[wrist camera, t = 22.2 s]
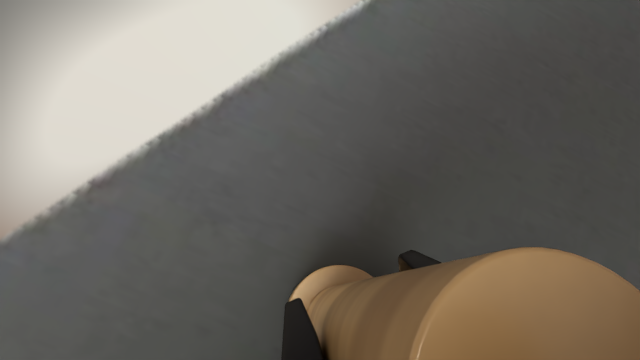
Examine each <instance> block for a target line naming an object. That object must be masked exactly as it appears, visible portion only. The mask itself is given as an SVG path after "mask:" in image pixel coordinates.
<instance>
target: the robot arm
mask: <svg viewBox="0 0 640 360" xmlns="http://www.w3.org/2000/svg"><path fill="white" fill-rule="evenodd" d="M398 262H399V272H402V271H407V270H412V269H417V268H421V267H426V266H431V265H435V264H440V263H441V262H439V261H437V260H434V259H432V258H430V257H428V256H425V255H423V254H421V253H419V252H416V251H414V250H410V251H407V252H405V253H402V254H400V255H399V257H398ZM281 360H325V359H324V356H323V352H322V349H321V345H320V342H319V339H318V336H317V333H316V331H315V328H314V326H313V324H312V322H311V319H310V317H309V315H308V313H307V310H306V308H305V306H304V304H303V301H302V300H301V298H296V299H294V300H291V301H289V302H287V303H286V305H285V316H284V330H283V344H282V359H281Z"/></svg>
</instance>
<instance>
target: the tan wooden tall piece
mask: <svg viewBox="0 0 640 360" xmlns="http://www.w3.org/2000/svg"><path fill="white" fill-rule="evenodd" d="M296 298H301V300H302V301H303V304H304V306H305V308H306V310H307V313H308V315H309V317H310V319H311V322H312V324H313V326H314V328H315V331H316V333H317V336H318V339H319V342H320V345H321V349H322V352H323V356H324V359H325V360H640V291H639V290H638V289H637V288H635V287H634V286H633V285H632V284H631V283H629V282H628V281H626V280H625V279H623V278H622V277H621V276H619V275H618V274H616V273H615V272H613V271H611V270H609V269H608V268H606V267H604V266H602V265H600V264H598V263H596V262H594V261H591V260H589V259H586V258H584V257H581V256H579V255H576V254H573V253H569V252H565V251H561V250H558V249H551V248H543V247H520V248H514V249H508V250H502V251H497V252H492V253H488V254H483V255H478V256H473V257H469V258H464V259H459V260H454V261H450V262H445V263H440V264H435V265H431V266H426V267H421V268H417V269H412V270H407V271H402V272H398V273H393V274H388V275H383V276H379V277H372V276H371V275H369V274H368V273H366V272H365V271H363V270H361V269H358V268H356V267H352V266H346V265H333V266H327V267H324V268H321V269H319V270H316V271H314V272H313V273H311V274H310V275H308V276H307V277H306V278H305V279H303V280H302V281H301V282H300V283H299V284H298V285H297V286H296V288H295V289H294V291H293V292H292V294H291V296H290V298H289V300H288V302H289V301H291V300H294V299H296Z"/></svg>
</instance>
